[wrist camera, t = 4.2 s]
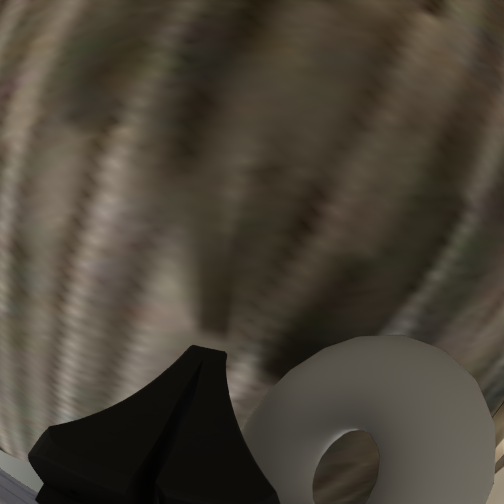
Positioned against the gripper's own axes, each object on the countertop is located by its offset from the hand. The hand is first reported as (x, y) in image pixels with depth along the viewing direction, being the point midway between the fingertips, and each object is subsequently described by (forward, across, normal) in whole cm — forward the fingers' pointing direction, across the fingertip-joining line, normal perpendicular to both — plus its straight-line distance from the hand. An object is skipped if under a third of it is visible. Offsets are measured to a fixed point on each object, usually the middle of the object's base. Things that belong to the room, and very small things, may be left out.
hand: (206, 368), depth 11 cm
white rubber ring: (+1, -4, 0) cm, 4 cm away
